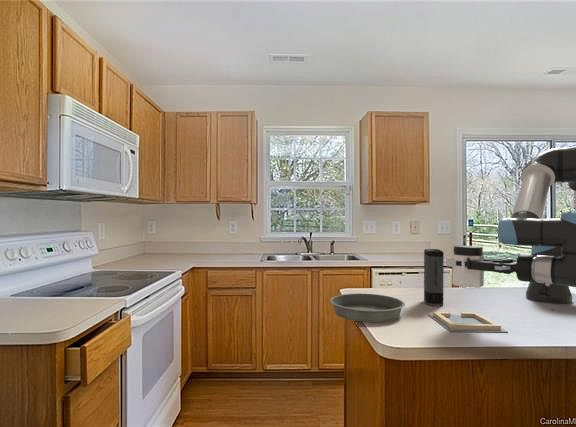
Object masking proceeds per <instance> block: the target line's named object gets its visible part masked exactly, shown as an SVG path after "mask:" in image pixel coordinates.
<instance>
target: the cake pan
mask: <svg viewBox="0 0 576 427" xmlns="http://www.w3.org/2000/svg"><path fill="white" fill-rule="evenodd" d="M329 301H330V303H331V304H332V306H333V310H334V313H335V315H336V316H337V317H340V318H341V319H346V320H348V321H354V322H355V321H356V322H363V323H384V322H385V321H386V322H391V320H392V321H395V320H397V319H399V318H400V315H401V312H402V308H405V305H406V303H405V301H403V300H401V299H399V298H397V297H393V296H390V295H389V296H388V295H383V294H377V293H376V294H375V293H345V294H339V295H336V296H333V297H331V298H330V300H329Z"/></svg>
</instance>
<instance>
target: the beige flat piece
mask: <svg viewBox="0 0 576 427" xmlns="http://www.w3.org/2000/svg"><path fill="white" fill-rule="evenodd" d="M428 316H429V317H430V318H431V319H432V320H434V321H435V322H436V323H438V324H439V325H440V326H442V327H443V328H444V329H446V330H449V331H448V332H450V333H496V334H497V333H498V334H499V333H505V334H506V333H509V332H508V331H507V330H506V329H504V328H502V325H500V324H499V323H497V322H495V321H493V320H492V319H489V318H487V317H485V316H484V315H482V314H480V313H478V312H473V311H472V312H469V311H468V312H466V311H465V312H463V311H462V312H460V314H451V312H450V311H448V312H447V311H444V312H443V311H433V314H428Z"/></svg>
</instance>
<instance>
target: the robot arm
mask: <svg viewBox="0 0 576 427" xmlns="http://www.w3.org/2000/svg"><path fill="white" fill-rule="evenodd" d="M520 180H521V186H520V188H519V191H518V194H517V197H516V200H515V203H514V206H513V209H512V212H511V216H510V217H507V218H500V219H499V221H498V224H497V237H498V241H499V243H501V244H503V245H510V246H511V245H512V246H514V247H516V246H519V247H520V246H521V247H522V246H523V247H525V246H526V247H531V251H530V254H526V253H521V254H518V256H517V258H516V260H515V259H513V258H506V259H505V258H485V257H484V259H483V261H478V260H469V258H467V262H465V266H466V267H467V269H468V270H470V269H472V270H481V271H484V272H494V273H497V274H498V273H499V274H504V275H510V274H513V273H515V274H516V278H517V280H518V281H519V282H527V283H529V284H528V285H527V288H526V291H525V297H526V298H527V299H528V300H533V301H536V302H543V303H548V304H549V303H550V304H571V303H573V295H572V292H571V290H570V288H571V287H572V288H576V146H566V147H555V148H554V147H553V148H551V149H547V150H545V151H543V152H541V153H539V154H536V156H534V157H533V158H531V159H530V160H529V161H528V162H527V163H526V164H525V165H524V167H523V169H522V171H521V173H520ZM556 183H557V184H559V183H560V184H561V183H566V184H567V185H568V188H569V189H570V190H572V191H573V193H574V207H575V208H574V209H575V211H562V212H561V214H560V217H559V218H556V217H555V218H554V217H553V218H543V214H544V211H545V207H546V203H547V199H548V194H549V190H550V187H551V186H553V184H556ZM445 260H446V262H445V266H446V267H450V268H451V267H455V258H453V257H449V256H447V257H445ZM461 263H462V261H456V266H462V264H461Z"/></svg>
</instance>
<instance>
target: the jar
mask: <svg viewBox="0 0 576 427" xmlns="http://www.w3.org/2000/svg"><path fill="white" fill-rule="evenodd" d="M483 248H484V246H479V245H453V254H452V258H455V267H452V285H453V286H456V287H462V288H471V289H472V288H473V289H475V288H477V289H479V288H481V287H484V284H485V283H484V282H485V280H484V279H485V278H484V277H485V274H484V272H485V271H481V270H472V269H470V270H468V269H467V267H466V266H465V262H467V258H469V260H478V261H483V259H484V258H485V257H484V254H483V252H484V251H483V250H484V249H483ZM456 261H462V263H461V264H462V266H456Z"/></svg>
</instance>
